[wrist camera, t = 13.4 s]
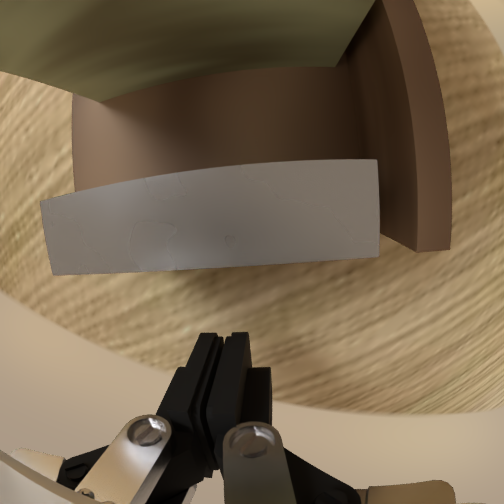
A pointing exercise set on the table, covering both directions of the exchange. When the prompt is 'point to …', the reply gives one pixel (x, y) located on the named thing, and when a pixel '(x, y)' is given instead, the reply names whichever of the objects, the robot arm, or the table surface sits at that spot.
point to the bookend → (218, 218)
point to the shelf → (246, 92)
